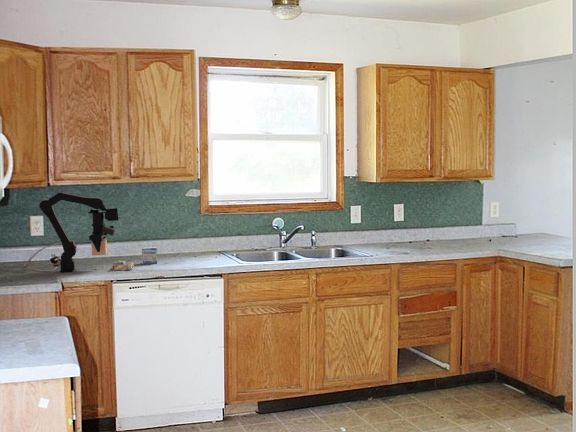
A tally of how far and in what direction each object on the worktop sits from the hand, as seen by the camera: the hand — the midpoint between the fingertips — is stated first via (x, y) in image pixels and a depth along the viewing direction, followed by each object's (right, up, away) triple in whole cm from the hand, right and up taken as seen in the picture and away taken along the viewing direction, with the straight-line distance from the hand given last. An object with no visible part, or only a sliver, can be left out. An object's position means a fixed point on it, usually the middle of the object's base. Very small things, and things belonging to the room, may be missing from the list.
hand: (99, 251), depth 358 cm
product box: (0, -2, 0) cm, 2 cm away
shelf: (+12, -9, +1) cm, 15 cm away
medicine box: (+23, -8, +17) cm, 29 cm away
